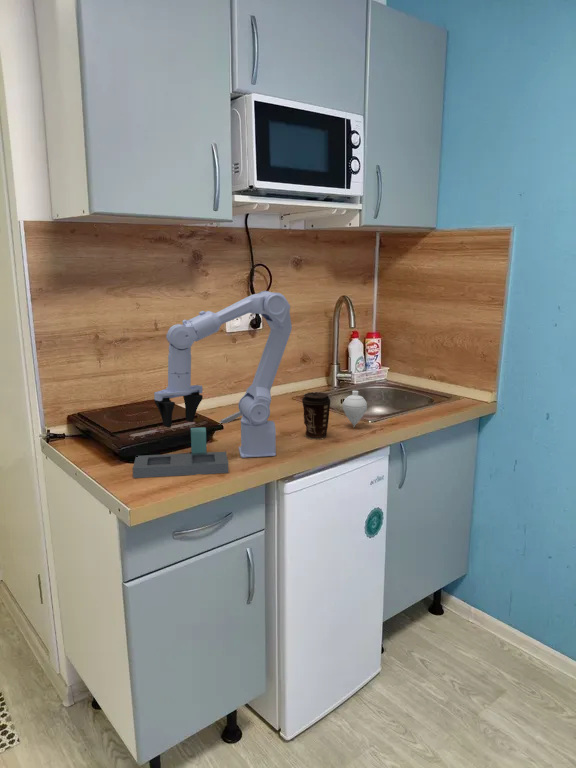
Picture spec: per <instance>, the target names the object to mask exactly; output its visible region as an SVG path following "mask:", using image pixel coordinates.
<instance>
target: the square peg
mask: <svg viewBox="0 0 576 768" xmlns="http://www.w3.org/2000/svg"><path fill="white" fill-rule="evenodd" d="M190 444H191V445H190V446H191V453H206V452H207V449H208V448H207V428H206V427H190Z"/></svg>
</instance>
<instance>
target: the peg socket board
mask: <svg viewBox="0 0 576 768" xmlns="http://www.w3.org/2000/svg"><path fill="white" fill-rule="evenodd" d="M137 456H138V457H136V456H135V458H134V461H133V462H134V463H133V466H132V478H133V479H142V478H158V477H159V478H160V477H161V478H162V477H163V478H164V477H178V476H181V477H182V476H197V475H196V474H201V475H214V474H215V475H216V474H218V473H219V474H229V460H228V455H227V451H215V452H214V451H211V452H209V451H208V452H206V453H192V452H191V453H189V452H188V453H170V454H169V453H168V454H167V453H166V454H165V453H164V454H149V455H148V454H147V455H137Z"/></svg>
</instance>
